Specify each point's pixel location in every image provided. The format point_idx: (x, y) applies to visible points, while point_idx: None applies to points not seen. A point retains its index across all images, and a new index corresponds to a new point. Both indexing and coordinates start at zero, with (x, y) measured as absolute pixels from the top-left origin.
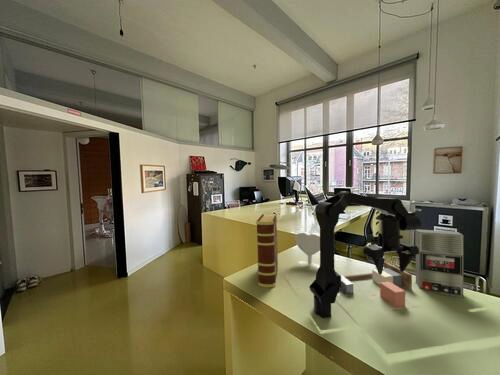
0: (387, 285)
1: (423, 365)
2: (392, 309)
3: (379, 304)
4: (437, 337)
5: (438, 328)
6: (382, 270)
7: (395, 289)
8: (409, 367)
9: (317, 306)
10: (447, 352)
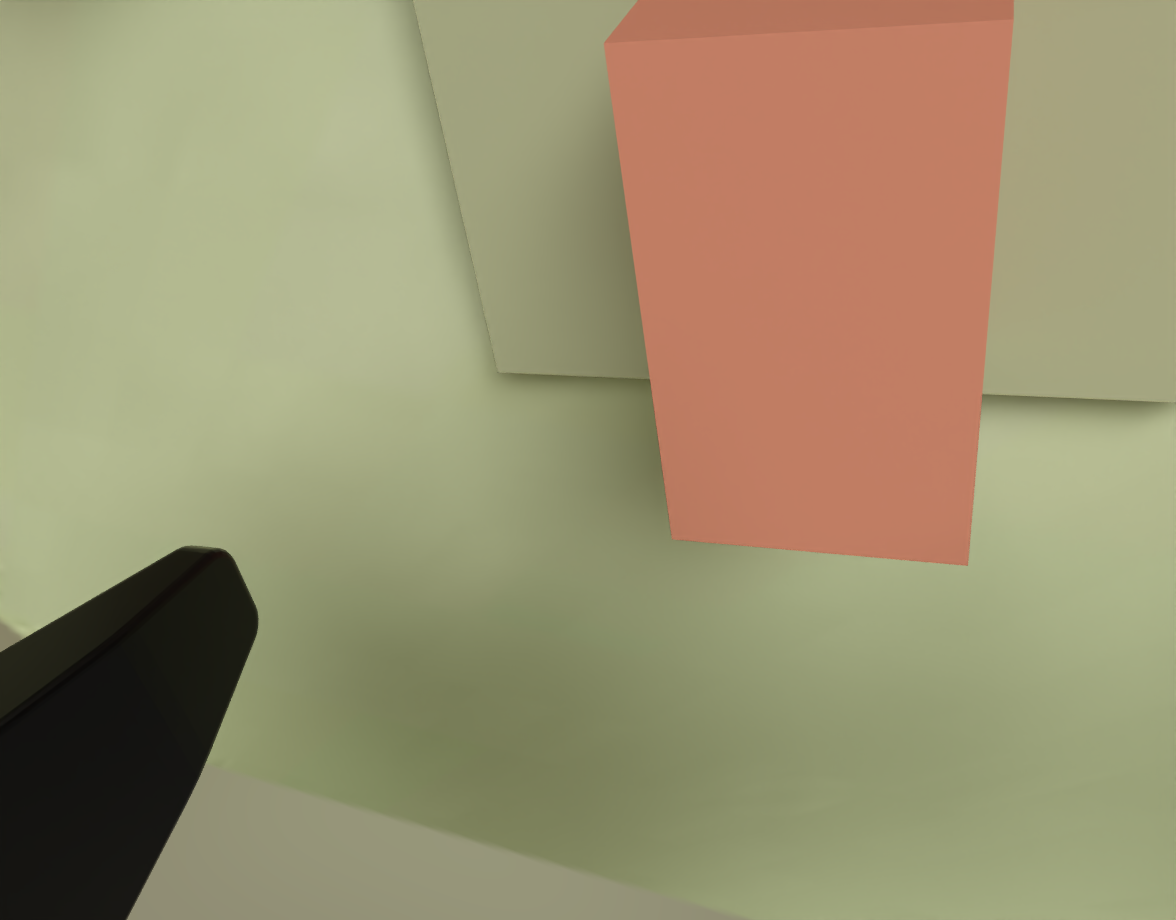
0: (722, 246)
1: (458, 814)
2: (641, 367)
3: (503, 199)
4: (861, 731)
5: (1047, 670)
6: (169, 816)
7: (780, 456)
8: (351, 793)
9: None
10: (760, 825)
